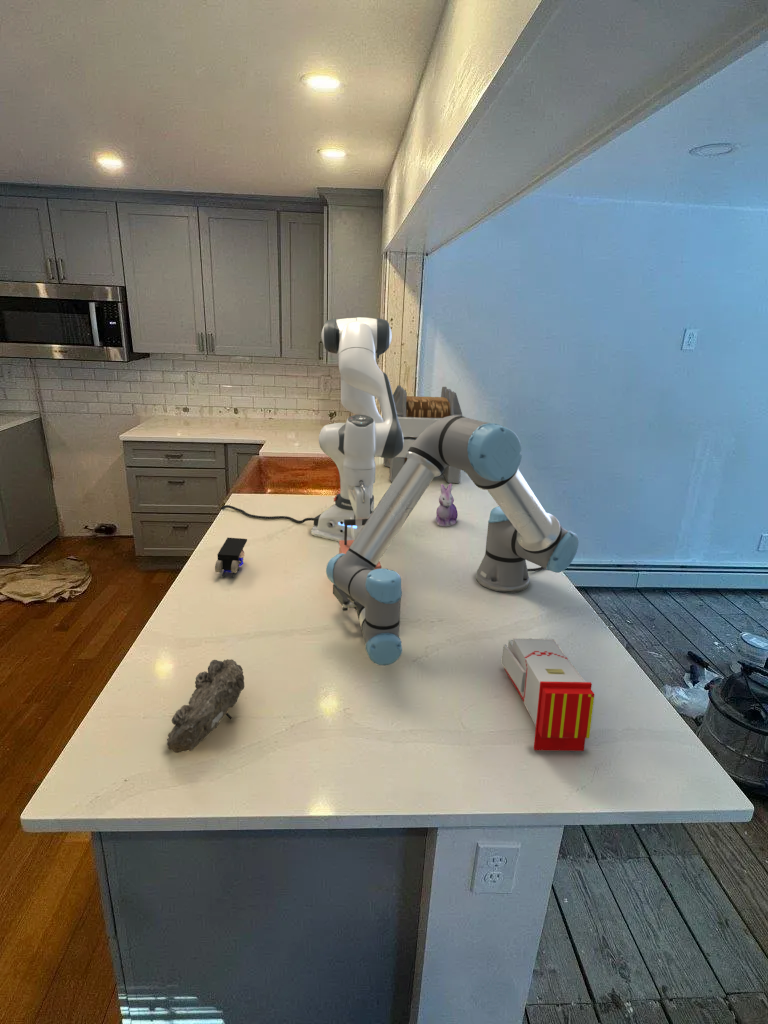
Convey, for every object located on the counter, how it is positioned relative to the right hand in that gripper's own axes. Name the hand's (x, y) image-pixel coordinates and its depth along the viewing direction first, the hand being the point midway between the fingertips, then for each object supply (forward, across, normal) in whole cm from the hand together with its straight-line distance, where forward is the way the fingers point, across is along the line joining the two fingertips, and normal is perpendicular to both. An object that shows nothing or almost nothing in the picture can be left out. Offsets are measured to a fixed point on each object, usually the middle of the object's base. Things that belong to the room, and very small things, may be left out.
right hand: (361, 574), depth 154 cm
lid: (+5, 0, +3) cm, 6 cm away
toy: (-49, +30, -6) cm, 58 cm away
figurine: (+53, +40, -6) cm, 67 cm away
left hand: (+11, 0, +11) cm, 15 cm away
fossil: (-45, -35, -6) cm, 57 cm away
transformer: (+120, +45, -6) cm, 128 cm away
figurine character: (+19, -36, -6) cm, 41 cm away
